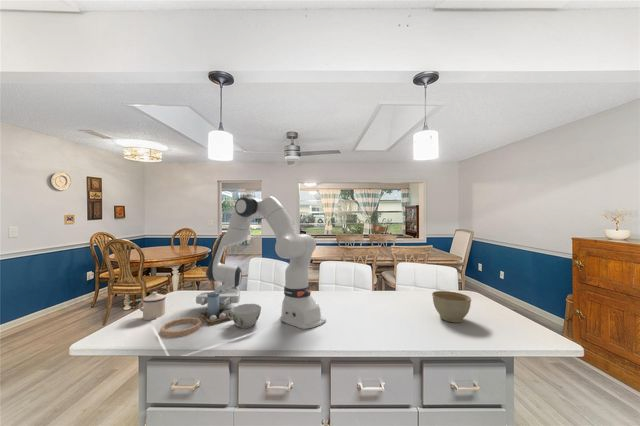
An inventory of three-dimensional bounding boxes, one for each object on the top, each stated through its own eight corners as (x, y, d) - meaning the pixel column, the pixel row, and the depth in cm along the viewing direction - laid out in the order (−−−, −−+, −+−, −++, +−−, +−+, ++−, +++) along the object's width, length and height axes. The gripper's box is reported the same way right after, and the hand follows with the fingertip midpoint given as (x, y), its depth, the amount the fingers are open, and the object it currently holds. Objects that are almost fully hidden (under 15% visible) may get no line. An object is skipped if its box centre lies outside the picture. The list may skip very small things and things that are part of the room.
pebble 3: (229, 317, 115) (229, 310, 115) (222, 318, 113) (222, 312, 113) (226, 315, 118) (226, 308, 118) (220, 316, 115) (220, 310, 116)
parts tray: (234, 320, 113) (234, 315, 113) (209, 327, 106) (209, 322, 106) (223, 312, 123) (223, 308, 123) (199, 318, 116) (199, 313, 116)
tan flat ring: (205, 331, 102) (205, 324, 102) (165, 342, 93) (165, 335, 93) (195, 320, 113) (195, 315, 113) (158, 330, 103) (158, 323, 103)
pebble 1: (217, 322, 109) (217, 315, 110) (210, 324, 107) (210, 317, 108) (215, 320, 112) (215, 313, 112) (208, 321, 110) (208, 315, 110)
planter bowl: (477, 327, 107) (477, 302, 107) (437, 324, 110) (437, 299, 110) (463, 313, 122) (463, 291, 123) (428, 311, 126) (428, 289, 126)
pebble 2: (227, 319, 112) (227, 313, 112) (220, 321, 110) (220, 314, 110) (224, 318, 114) (224, 311, 114) (217, 319, 112) (217, 313, 112)
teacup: (265, 321, 112) (265, 303, 113) (254, 334, 100) (254, 314, 100) (234, 319, 115) (234, 302, 115) (219, 331, 102) (219, 311, 102)
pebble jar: (220, 317, 115) (221, 293, 115) (209, 320, 112) (209, 295, 112) (216, 314, 119) (217, 290, 119) (205, 316, 115) (205, 293, 116)
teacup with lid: (169, 313, 122) (170, 289, 122) (156, 321, 113) (156, 295, 113) (146, 312, 122) (146, 289, 123) (131, 320, 113) (131, 294, 114)
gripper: (202, 288, 128) (189, 296, 114) (242, 287, 129) (235, 296, 115) (202, 300, 128) (189, 310, 114) (242, 300, 129) (234, 309, 115)
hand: (212, 303), depth 115 cm, fingers open, 8 cm apart
